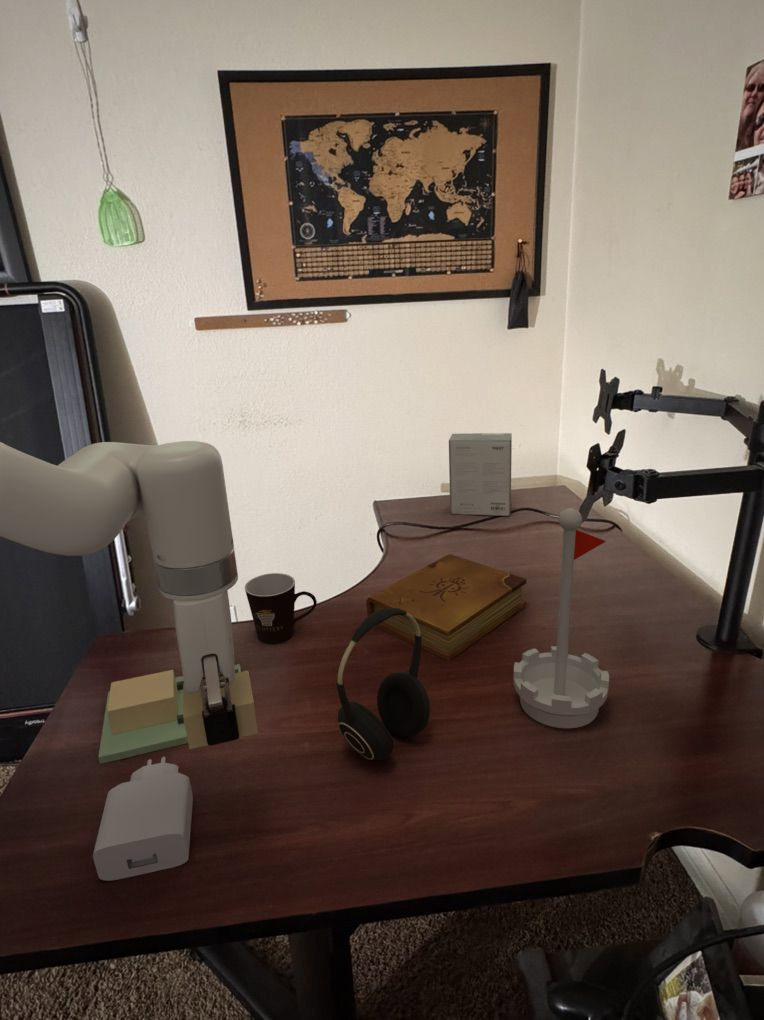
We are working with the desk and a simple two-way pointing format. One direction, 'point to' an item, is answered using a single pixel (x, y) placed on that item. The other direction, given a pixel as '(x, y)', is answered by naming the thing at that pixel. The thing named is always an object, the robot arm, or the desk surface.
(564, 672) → the flag stand
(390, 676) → the headphones
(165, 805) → the charger
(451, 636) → the diary
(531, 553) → the desk surface
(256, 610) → the coffee mug
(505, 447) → the hard drive box
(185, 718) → the yellow block
